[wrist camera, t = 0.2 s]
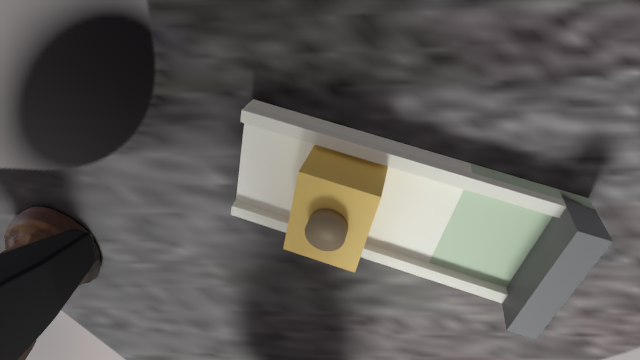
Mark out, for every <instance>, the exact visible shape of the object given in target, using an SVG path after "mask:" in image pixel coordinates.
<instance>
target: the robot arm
mask: <svg viewBox="0 0 640 360" xmlns="http://www.w3.org/2000/svg"><path fill="white" fill-rule="evenodd" d="M94 261H95V248H94V240H93V235H92V234H91V233H89V232H87V231H84V230H81V229H78V228H74V229H70V230H67V231H64V232H61V233H58V234H55V235H53V236H50V237H47V238H44V239H41V240H38V241H35V242H32V243H30V244H27V245H24V246H21V247H18V248H15V249H12V250H9V251H7V252H4V253H1V254H0V360H18V359H19V358H20V357H21V356H22V355H23V354H24V353H25V351H26V350H27V349H28V348H29V347H30V346H31V345H32V344H33V342H34V341H35V340H36V339H37V338H38V337H39V336H40V335H41V333H42V332H43V331H44V330H45V329H46V328H47V327H48V325H49V324H50V323H51V322H52V321H53V319H54V318H55V317H56V316H57V314H58V313H59V311H60V310H61V309H62V308H63V306H64V305H65V303H66V302H67V301H68V299H69V298H70V297H71V295H72V294H73V292H74V291H75V290H76V288H77V287H78V286H79V284H80V283H81V281H82V280H83V279H84V277H85V276H86V274H87V273H88V272H89V270H90V269H91V268H92V266H93V264H94Z"/></svg>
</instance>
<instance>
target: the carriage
mask: <svg viewBox="0 0 640 360" xmlns="http://www.w3.org/2000/svg"><path fill="white" fill-rule="evenodd" d="M387 169H388V166H385V165H381V164H378V163H375V162H371V161H368V160H365V159H361V158H358V157H355V156H351V155H348V154H345V153H341V152H338V151H335V150H332V149H328V148H325V147H322V146H318V145H314V146H313V148H312V150H311V152H310V153H309V155H308V157H307V158H306V160H305V162H304V163H303V165H302V167H301V169H300V170H299V173H298V178H297V182H296V187H295V192H294V197H293V202H292V207H291V212H290V217H289V222H288V227H287V232H286V237H285V242H284V247H283V249H284V250H288V251H291V252H294V253H297V254H300V255H303V256H306V257H309V258H312V259H315V260H318V261H321V262H324V263H327V264H330V265H333V266H336V267H339V268H342V269H345V270H348V271H351V272H354V273H355V271H356V268H357V265H358V262H359V260H360V257H361V254H362V251H363V248H364V245H365V242H366V240H367V237H368V234H369V231H370V228H371V225H372V222H373V219H374V217H375V214H376V211H377V208H378V205H379V202H380V199H381V196H382V192H383V187H384V183H385V178H386V174H387Z"/></svg>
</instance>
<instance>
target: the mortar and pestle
mask: <svg viewBox="0 0 640 360" xmlns="http://www.w3.org/2000/svg"><path fill="white" fill-rule="evenodd" d="M74 228H78V229H81V230H84V231H87V230H86V229H85V228H83V227H82V226H81V225H79V224H78V223H76V222H75V221H74V220H73V219H71V218H70V217H68V216H66V215H64V214H62V213H60V212H58V211H56V210H52V209H49V208H45V207H31V208H29V209H27V210H25V211H23V212H21V213H20V214H19V215H18V216H16V217H15V218H14V219H13V220H12V221H11V223H10V224H9V226H8V227H7V229H6V231H5V235H4V238H5V247H6V250H5V251H3V252H1V253H4V252H7V251H9V250H12V249H15V248H18V247H21V246H24V245H27V244H30V243H32V242H35V241H38V240H41V239H44V238H47V237H50V236H53V235H55V234H58V233H61V232H64V231H67V230H70V229H74ZM87 232H88V231H87ZM94 248H95V261H94V264H93V266H92V268H91V269H90V270H89V272H88V273H87V274H86V276H85V277H84V279H83V280H82V281H81V283H80V284H79V285H81V284H84V283H88V282H90V281H92V280H93V279H95V278H96V277H97V276H98V274H99V271H100V253H99V250H98V247H97V245H96V244H95V243H94ZM1 253H0V254H1ZM35 342H36V340H35V341H34V342H33V344H32V345H31V346H30V347H29V348H28V349H27V350H26V351H25V353H24V354H23V355H22V356H21V357H20V358H19V359H18V360H25V359H26V357H27V356H28V354H29V353H30V351H31V350H32V348H33V346H34V344H35Z"/></svg>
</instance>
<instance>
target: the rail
mask: <svg viewBox="0 0 640 360" xmlns="http://www.w3.org/2000/svg"><path fill="white" fill-rule="evenodd" d="M240 122H242V123H244V130H243V140H242V149H241V158H240V167H239V177H238V186H237V195H236V201H235V202H234V204H233V205H232V209H231V215H233V216H236V217H239V218H242V219H245V220H248V221H251V222H255V223H258V224H261V225H264V226H267V227H270V228H273V229H276V230H279V231H282V232H285V233H286V232H287V227H288V222H289V217H290V212H291V207H292V202H293V197H294V192H295V187H296V182H297V178H298V173H299V170H300V169H301V167H302V165H303V163H304V162H305V160H306V158H307V157H308V155H309V153H310V152H311V150H312V148H313V146H314V145H318V146H322V147H325V148H328V149H332V150H335V151H338V152H341V153H345V154H348V155H351V156H355V157H358V158H361V159H365V160H368V161H371V162H375V163H378V164H381V165H385V166H388V169H387V174H386V178H385V183H384V187H383V192H382V196H381V199H380V202H379V205H378V208H377V211H376V214H375V217H374V219H373V222H372V225H371V228H370V231H369V234H368V237H367V240H366V242H365V245H364V248H363V251H362V254H361V257H362V258H365V259H368V260H371V261H374V262H377V263H380V264H383V265H386V266H389V267H392V268H396V269H399V270H402V271H405V272H408V273H411V274H414V275H417V276H420V277H423V278H426V279H429V280H432V281H435V282H438V283H441V284H445V285H448V286H451V287H454V288H457V289H460V290H463V291H466V292H469V293H472V294H475V295H478V296H481V297H484V298H487V299H491V300H494V301H497V302H500V303H502V305H503V311H504V317H505V323H506V329H507V331H510V332H513V333H516V334H519V335H522V336H525V337H528V338H531V339H534V340H535V339H536V338H537V337H538V336H539V334H540V333H541V332H542V331H543V329H544V328H545V327H546V325H547V324H548V323H549V322H550V320H551V319H552V318H553V317H554V315H555V314H556V313H557V312H558V310H559V309H560V308H561V307H562V305H563V304H564V303H565V301H566V300H567V299H568V298H569V296H570V295H571V294H572V293H573V291H574V290H575V289H576V288H577V286H578V285H579V284H580V283H581V281H582V280H583V279H584V277H585V276H586V275H587V274H588V272H589V271H590V270H591V269H592V267H593V266H594V265H595V264H596V262H597V261H598V260H599V259H600V257H601V256H602V255H603V254H604V252H605V251H606V250H607V248H608V247H609V246H610V245H611V243H612V242H613V241H612V239H611V238H610V236H609V234H608V232H607V230H606V228H605V227H604V225H603V223H602V221H601V219H600V218H599V216H598V214H597V212H596V210H595V208H594V207H593V205H592V203H591V201H590V199H589V198H587V197H583V196H580V195H576V194H573V193H570V192H566V191H563V190H559V189H556V188H553V187H549V186H546V185H542V184H539V183H536V182H532V181H529V180H526V179H522V178H519V177H515V176H512V175H509V174H505V173H502V172H498V171H495V170H492V169H488V168H485V167H481V166H478V165H475V164H471V163H468V162H464V161H461V160H458V159H454V158H451V157H448V156H444V155H441V154H437V153H434V152H431V151H427V150H424V149H420V148H417V147H414V146H410V145H407V144H403V143H400V142H397V141H393V140H390V139H387V138H383V137H380V136H376V135H373V134H370V133H366V132H363V131H359V130H356V129H353V128H349V127H346V126H342V125H339V124H336V123H332V122H329V121H325V120H322V119H319V118H315V117H312V116H309V115H305V114H302V113H298V112H295V111H292V110H288V109H285V108H281V107H278V106H275V105H271V104H268V103H264V102H261V101H258V100H254V99H253V100H252V101H251V102H250V103H249V104H247V105H246V106H245V107H244V108H243V109H242V111H241V120H240Z"/></svg>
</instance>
